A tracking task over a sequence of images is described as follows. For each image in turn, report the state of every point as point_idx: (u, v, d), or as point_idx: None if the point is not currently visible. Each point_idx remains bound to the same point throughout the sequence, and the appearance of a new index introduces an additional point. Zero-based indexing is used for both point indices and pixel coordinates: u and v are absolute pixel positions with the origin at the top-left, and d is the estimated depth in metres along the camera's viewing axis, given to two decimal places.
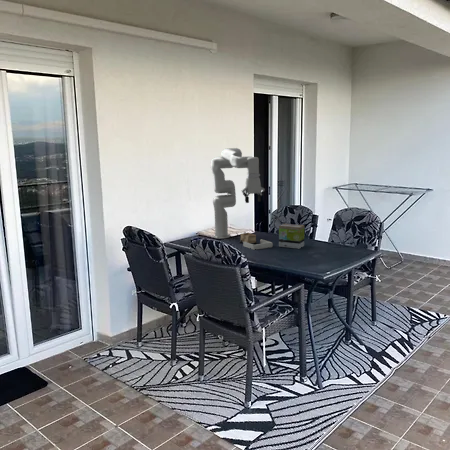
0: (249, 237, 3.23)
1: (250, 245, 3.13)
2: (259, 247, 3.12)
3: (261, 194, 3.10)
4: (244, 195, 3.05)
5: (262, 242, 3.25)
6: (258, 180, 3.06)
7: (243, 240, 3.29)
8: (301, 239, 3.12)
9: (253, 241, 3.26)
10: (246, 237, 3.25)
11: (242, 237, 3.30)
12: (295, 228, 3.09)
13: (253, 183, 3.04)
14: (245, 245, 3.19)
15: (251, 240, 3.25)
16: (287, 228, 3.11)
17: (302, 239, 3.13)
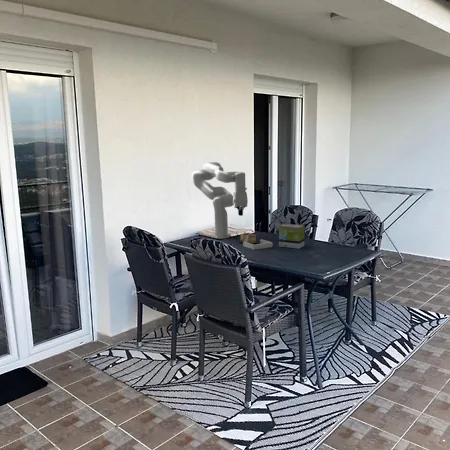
0: (249, 237, 3.23)
1: (250, 245, 3.13)
2: (259, 247, 3.12)
3: (243, 208, 3.34)
4: (237, 208, 3.33)
5: (262, 242, 3.25)
6: (245, 193, 3.32)
7: (243, 240, 3.29)
8: (301, 239, 3.12)
9: (253, 241, 3.26)
10: (246, 237, 3.25)
11: (242, 237, 3.30)
12: (295, 228, 3.09)
13: (240, 196, 3.30)
14: (245, 245, 3.19)
15: (251, 240, 3.25)
16: (287, 228, 3.11)
17: (302, 239, 3.13)
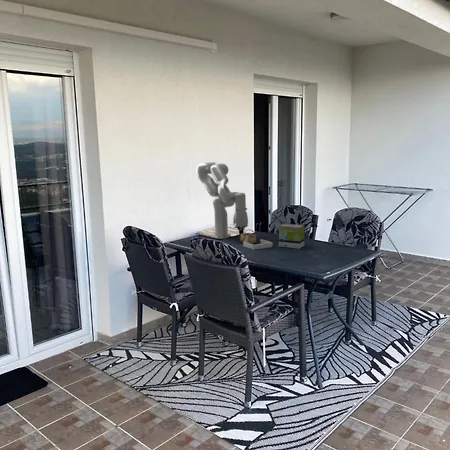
0: (249, 237, 3.23)
1: (250, 245, 3.13)
2: (259, 247, 3.12)
3: (243, 228, 3.36)
4: (238, 229, 3.35)
5: (262, 242, 3.25)
6: (245, 214, 3.34)
7: (243, 240, 3.29)
8: (301, 239, 3.12)
9: (253, 241, 3.26)
10: (246, 237, 3.25)
11: (242, 237, 3.30)
12: (295, 228, 3.09)
13: (240, 216, 3.32)
14: (245, 245, 3.19)
15: (251, 240, 3.25)
16: (287, 228, 3.11)
17: (302, 239, 3.13)
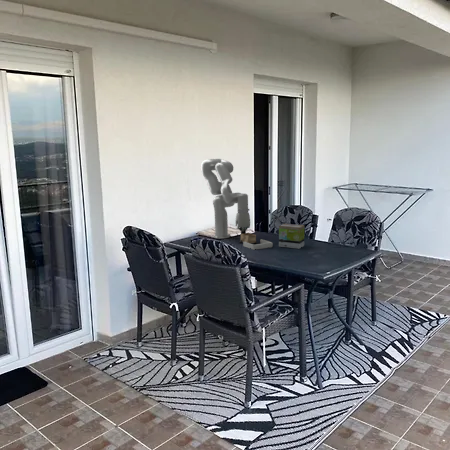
0: (249, 237, 3.23)
1: (250, 245, 3.13)
2: (259, 247, 3.12)
3: (245, 230, 3.33)
4: (240, 230, 3.33)
5: (262, 242, 3.25)
6: (247, 215, 3.31)
7: (243, 240, 3.29)
8: (301, 239, 3.12)
9: (253, 241, 3.26)
10: (246, 237, 3.25)
11: (242, 237, 3.30)
12: (295, 228, 3.09)
13: (243, 217, 3.30)
14: (245, 245, 3.19)
15: (251, 240, 3.25)
16: (287, 228, 3.11)
17: (302, 239, 3.13)
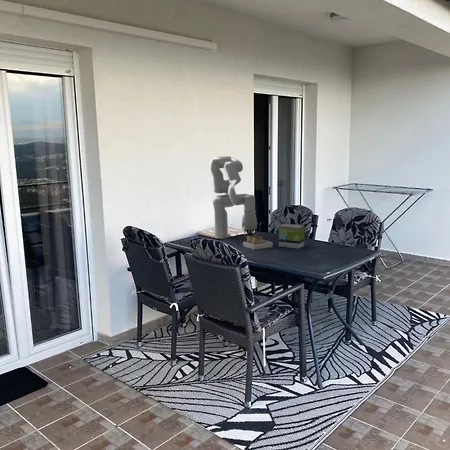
0: (256, 239, 3.16)
1: (250, 245, 3.13)
2: (259, 247, 3.12)
3: (252, 232, 3.26)
4: None
5: None
6: (254, 217, 3.24)
7: (249, 242, 3.21)
8: (301, 239, 3.12)
9: (260, 243, 3.18)
10: (253, 239, 3.17)
11: (248, 239, 3.22)
12: (295, 228, 3.09)
13: (250, 219, 3.22)
14: (245, 245, 3.19)
15: (258, 242, 3.17)
16: (287, 228, 3.11)
17: (302, 239, 3.13)
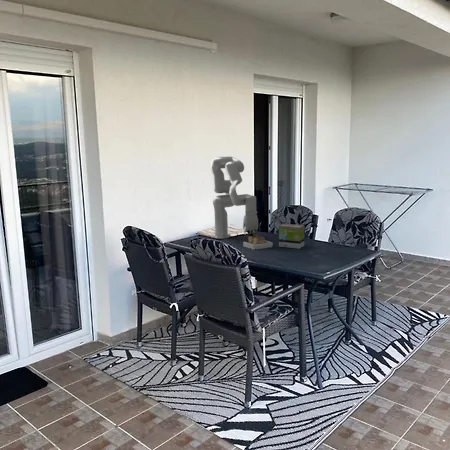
0: (257, 240, 3.14)
1: (250, 245, 3.13)
2: (259, 247, 3.12)
3: (253, 232, 3.25)
4: (247, 232, 3.24)
5: None
6: (255, 217, 3.22)
7: (251, 243, 3.19)
8: (301, 239, 3.12)
9: None
10: (254, 240, 3.15)
11: (250, 240, 3.20)
12: (295, 228, 3.09)
13: (251, 220, 3.21)
14: (245, 245, 3.19)
15: (259, 243, 3.15)
16: (287, 228, 3.11)
17: (302, 239, 3.13)
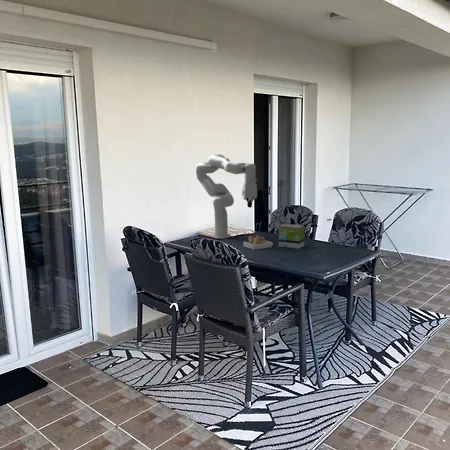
0: (257, 240, 3.14)
1: (250, 245, 3.13)
2: (259, 247, 3.12)
3: (252, 200, 3.31)
4: (246, 200, 3.31)
5: None
6: (254, 185, 3.29)
7: (251, 243, 3.19)
8: (301, 239, 3.12)
9: None
10: (254, 240, 3.15)
11: (250, 240, 3.20)
12: (295, 228, 3.09)
13: (250, 187, 3.27)
14: (245, 245, 3.19)
15: (259, 243, 3.15)
16: (287, 228, 3.11)
17: (302, 239, 3.13)
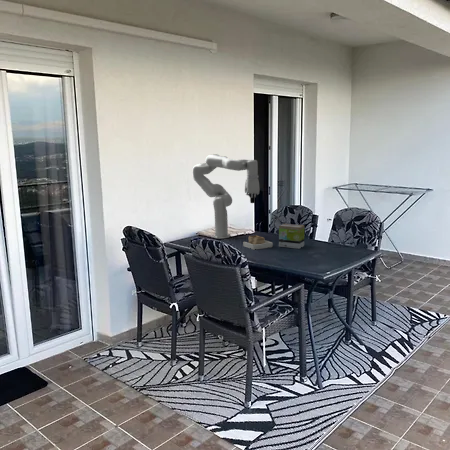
0: (257, 240, 3.14)
1: (250, 245, 3.13)
2: (259, 247, 3.12)
3: (254, 196, 3.35)
4: (249, 196, 3.34)
5: None
6: (257, 181, 3.33)
7: (251, 243, 3.19)
8: (301, 239, 3.12)
9: None
10: (254, 240, 3.15)
11: (250, 240, 3.20)
12: (295, 228, 3.09)
13: (252, 183, 3.31)
14: (245, 245, 3.19)
15: (259, 243, 3.15)
16: (287, 228, 3.11)
17: (302, 239, 3.13)
